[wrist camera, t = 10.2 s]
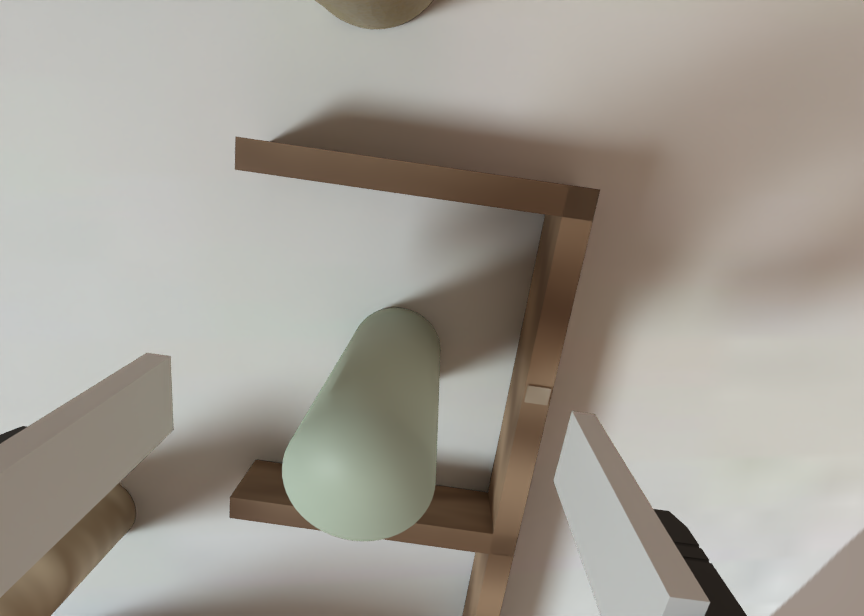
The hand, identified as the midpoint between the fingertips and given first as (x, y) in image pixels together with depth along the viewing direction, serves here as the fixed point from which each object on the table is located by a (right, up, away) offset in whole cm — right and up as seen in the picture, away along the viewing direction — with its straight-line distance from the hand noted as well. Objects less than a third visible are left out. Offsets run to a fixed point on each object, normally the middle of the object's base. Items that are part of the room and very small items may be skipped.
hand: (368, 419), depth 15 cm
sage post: (0, +2, +8) cm, 8 cm away
